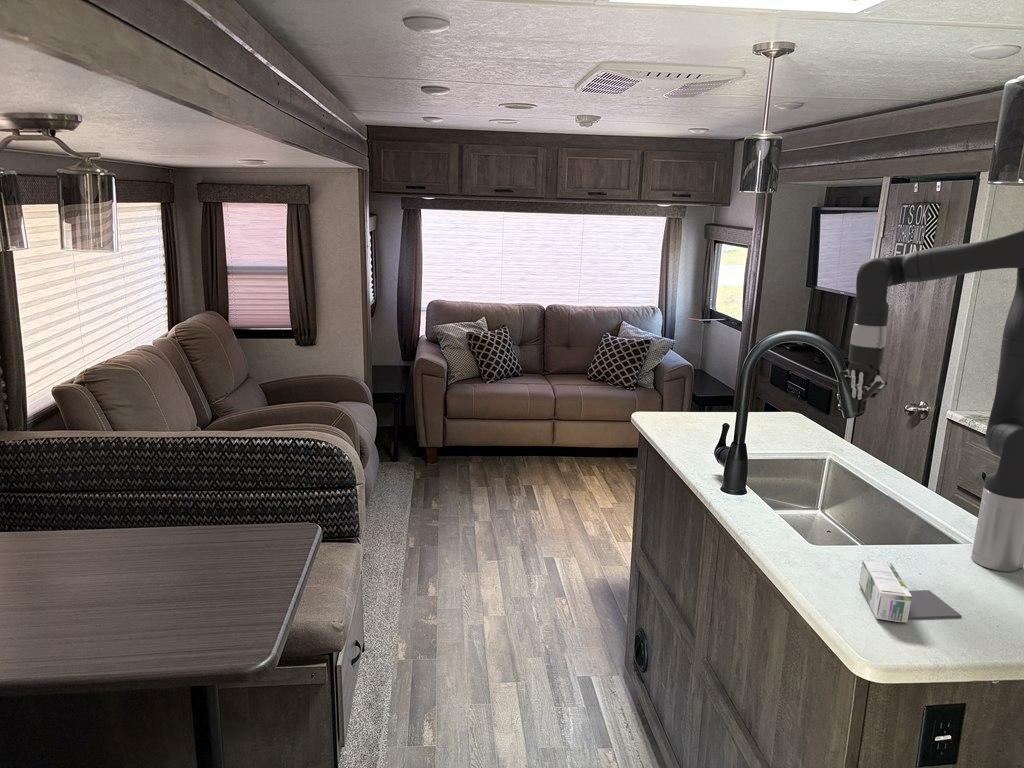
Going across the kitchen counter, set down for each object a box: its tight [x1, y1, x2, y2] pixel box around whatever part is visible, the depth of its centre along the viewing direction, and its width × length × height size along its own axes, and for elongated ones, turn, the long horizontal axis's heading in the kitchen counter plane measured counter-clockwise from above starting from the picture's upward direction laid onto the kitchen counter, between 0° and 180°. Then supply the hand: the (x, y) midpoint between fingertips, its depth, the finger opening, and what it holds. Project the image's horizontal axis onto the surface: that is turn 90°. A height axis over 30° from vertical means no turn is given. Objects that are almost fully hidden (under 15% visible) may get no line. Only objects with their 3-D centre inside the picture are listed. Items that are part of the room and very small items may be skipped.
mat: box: [908, 589, 962, 620], centre depth 152 cm, size 14×10×1 cm
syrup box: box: [858, 560, 912, 623], centre depth 151 cm, size 6×6×14 cm
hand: (858, 413), depth 184 cm, fingers closed
